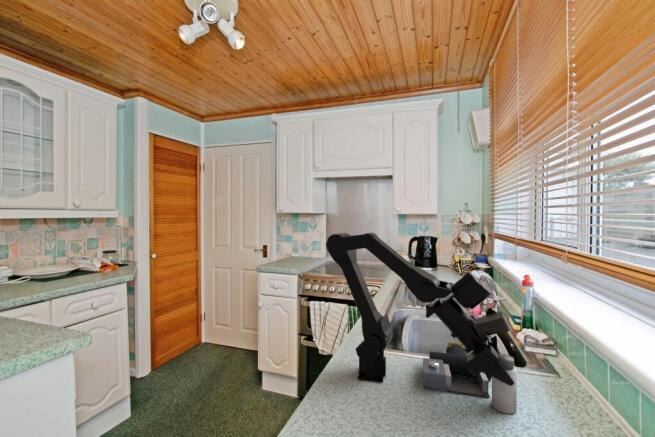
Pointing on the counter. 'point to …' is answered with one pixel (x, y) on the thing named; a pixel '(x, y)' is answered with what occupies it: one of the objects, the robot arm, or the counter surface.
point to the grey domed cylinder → (505, 388)
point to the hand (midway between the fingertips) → (511, 378)
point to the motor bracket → (452, 380)
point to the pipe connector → (454, 359)
